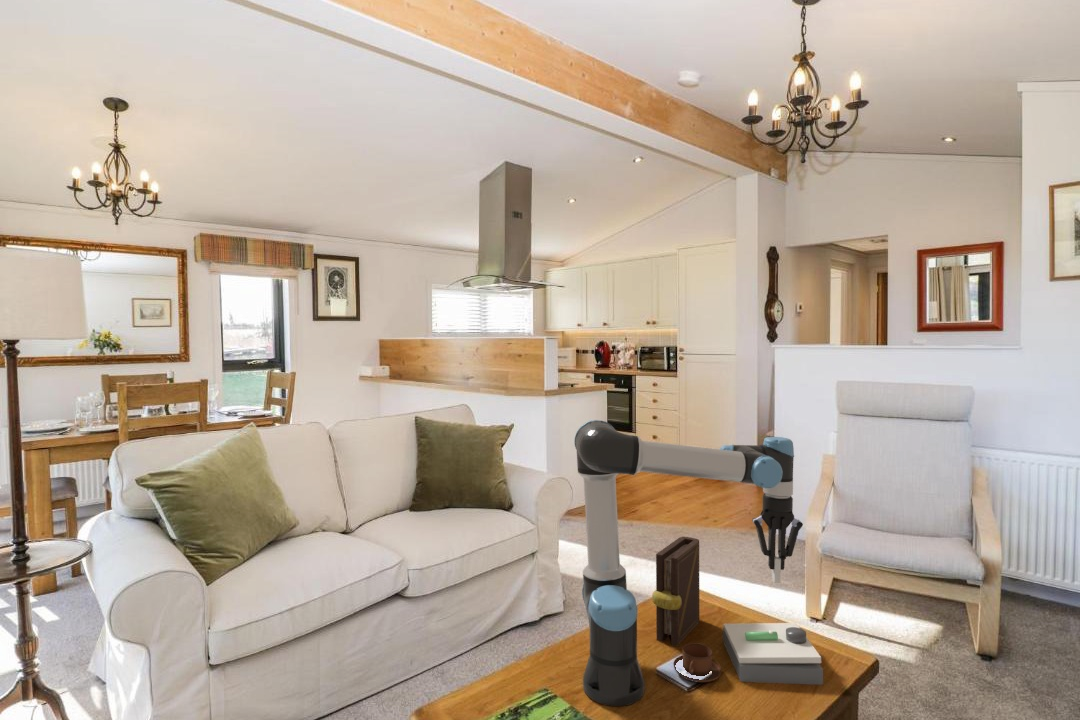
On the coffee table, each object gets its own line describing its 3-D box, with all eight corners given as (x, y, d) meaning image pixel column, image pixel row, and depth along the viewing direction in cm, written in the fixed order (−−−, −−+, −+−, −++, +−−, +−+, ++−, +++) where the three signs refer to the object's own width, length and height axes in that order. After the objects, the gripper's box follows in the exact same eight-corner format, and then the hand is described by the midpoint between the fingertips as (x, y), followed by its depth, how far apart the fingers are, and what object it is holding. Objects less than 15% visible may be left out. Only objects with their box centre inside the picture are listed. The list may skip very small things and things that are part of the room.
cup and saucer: (723, 689, 144) (723, 665, 144) (674, 684, 147) (674, 660, 147) (719, 663, 156) (719, 640, 156) (673, 659, 159) (672, 636, 158)
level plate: (739, 663, 148) (738, 649, 148) (723, 628, 166) (723, 615, 166) (821, 663, 146) (820, 648, 146) (796, 628, 164) (795, 615, 164)
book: (678, 613, 185) (678, 535, 184) (705, 620, 180) (704, 540, 179) (648, 642, 167) (648, 556, 166) (676, 651, 162) (676, 562, 161)
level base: (740, 681, 147) (740, 666, 147) (722, 641, 167) (722, 627, 167) (822, 684, 146) (823, 669, 145) (795, 643, 165) (795, 629, 165)
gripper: (798, 492, 161) (796, 576, 162) (749, 490, 163) (748, 574, 163) (807, 499, 154) (805, 587, 154) (756, 497, 155) (754, 585, 156)
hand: (776, 580), depth 159 cm, fingers closed
